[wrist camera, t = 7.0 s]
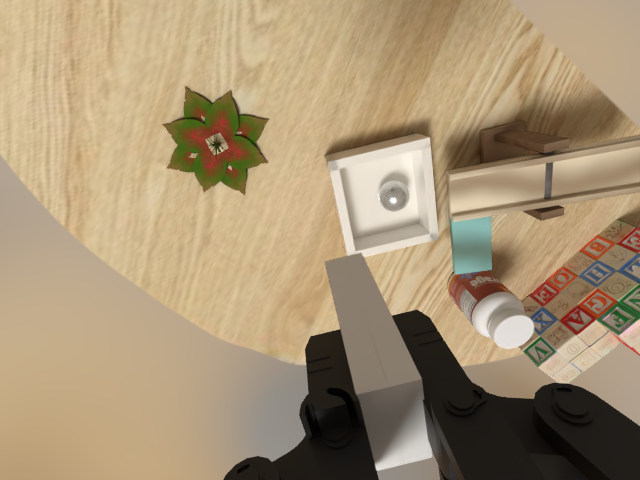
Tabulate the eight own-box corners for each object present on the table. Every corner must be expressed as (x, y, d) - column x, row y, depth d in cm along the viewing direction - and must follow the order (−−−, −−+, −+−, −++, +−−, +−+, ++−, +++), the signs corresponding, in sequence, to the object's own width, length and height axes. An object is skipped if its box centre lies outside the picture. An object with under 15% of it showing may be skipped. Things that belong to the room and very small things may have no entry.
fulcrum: (480, 131, 41) (531, 141, 32) (521, 121, 41) (583, 128, 32) (482, 202, 44) (528, 228, 36) (520, 193, 44) (575, 217, 36)
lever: (445, 167, 36) (452, 174, 34) (653, 128, 33) (678, 133, 30) (453, 269, 41) (459, 283, 39) (633, 245, 38) (654, 257, 35)
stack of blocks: (519, 341, 54) (580, 407, 43) (495, 322, 52) (553, 385, 41) (637, 243, 49) (742, 288, 38) (616, 217, 47) (720, 257, 36)
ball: (378, 178, 42) (373, 188, 39) (409, 174, 40) (406, 184, 37) (382, 206, 43) (378, 217, 40) (412, 203, 42) (409, 215, 39)
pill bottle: (494, 264, 48) (550, 311, 38) (480, 302, 51) (530, 355, 40) (452, 261, 47) (498, 308, 37) (440, 299, 50) (480, 353, 40)
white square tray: (323, 155, 40) (328, 162, 36) (416, 133, 40) (429, 137, 36) (343, 247, 45) (348, 260, 41) (426, 227, 45) (438, 239, 41)
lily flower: (253, 208, 42) (250, 221, 38) (151, 174, 40) (136, 185, 35) (286, 111, 38) (286, 113, 34) (175, 65, 36) (160, 62, 31)
